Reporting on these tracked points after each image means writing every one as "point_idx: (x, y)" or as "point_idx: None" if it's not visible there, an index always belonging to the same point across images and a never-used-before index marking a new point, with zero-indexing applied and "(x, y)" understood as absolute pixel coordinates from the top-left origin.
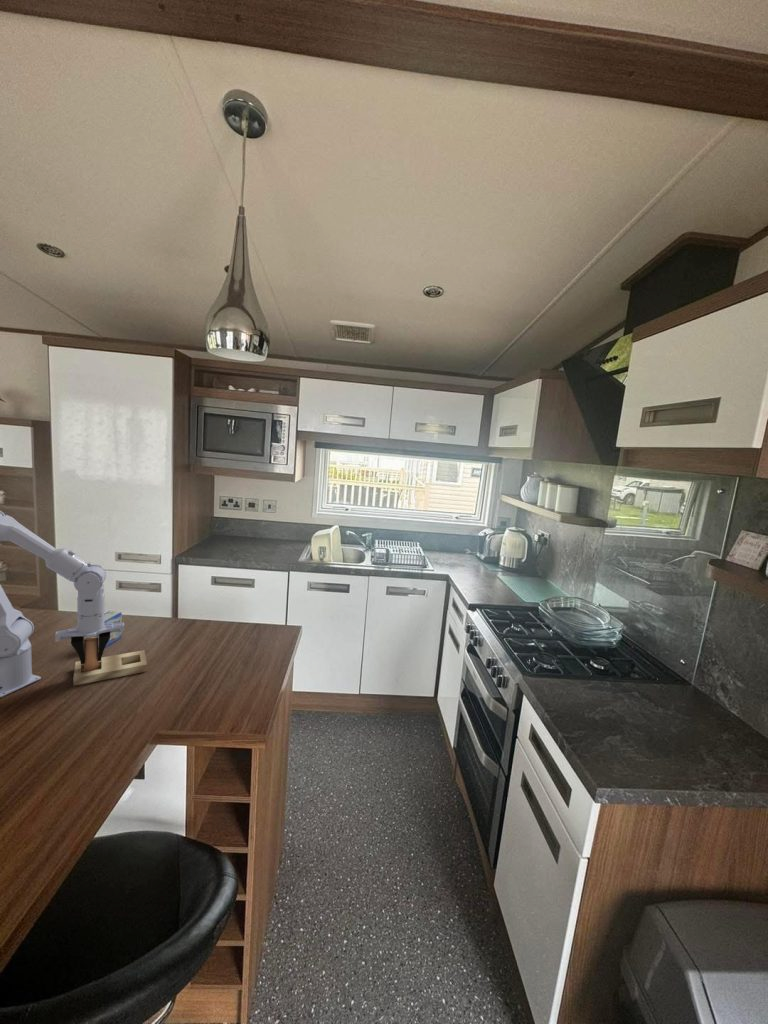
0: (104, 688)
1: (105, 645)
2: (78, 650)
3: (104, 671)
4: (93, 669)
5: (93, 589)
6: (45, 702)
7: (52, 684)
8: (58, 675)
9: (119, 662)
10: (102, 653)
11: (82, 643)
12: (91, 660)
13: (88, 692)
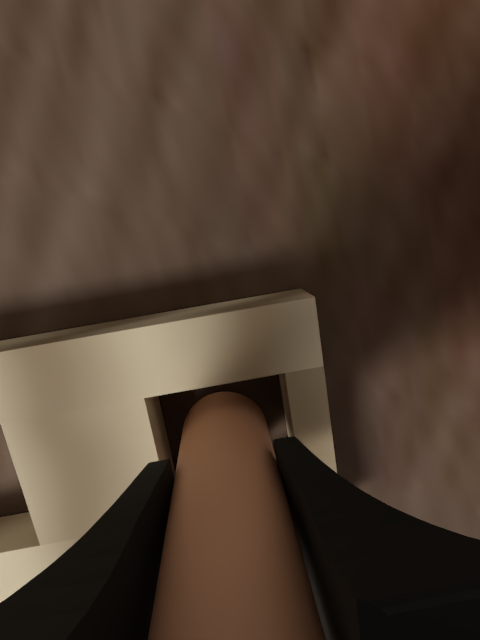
0: (89, 188)
1: (26, 587)
2: (369, 514)
3: (110, 350)
4: (203, 410)
5: None
6: (426, 106)
7: (424, 341)
8: (410, 447)
9: (32, 473)
10: (111, 506)
11: (358, 592)
12: (215, 448)
13: (186, 162)
